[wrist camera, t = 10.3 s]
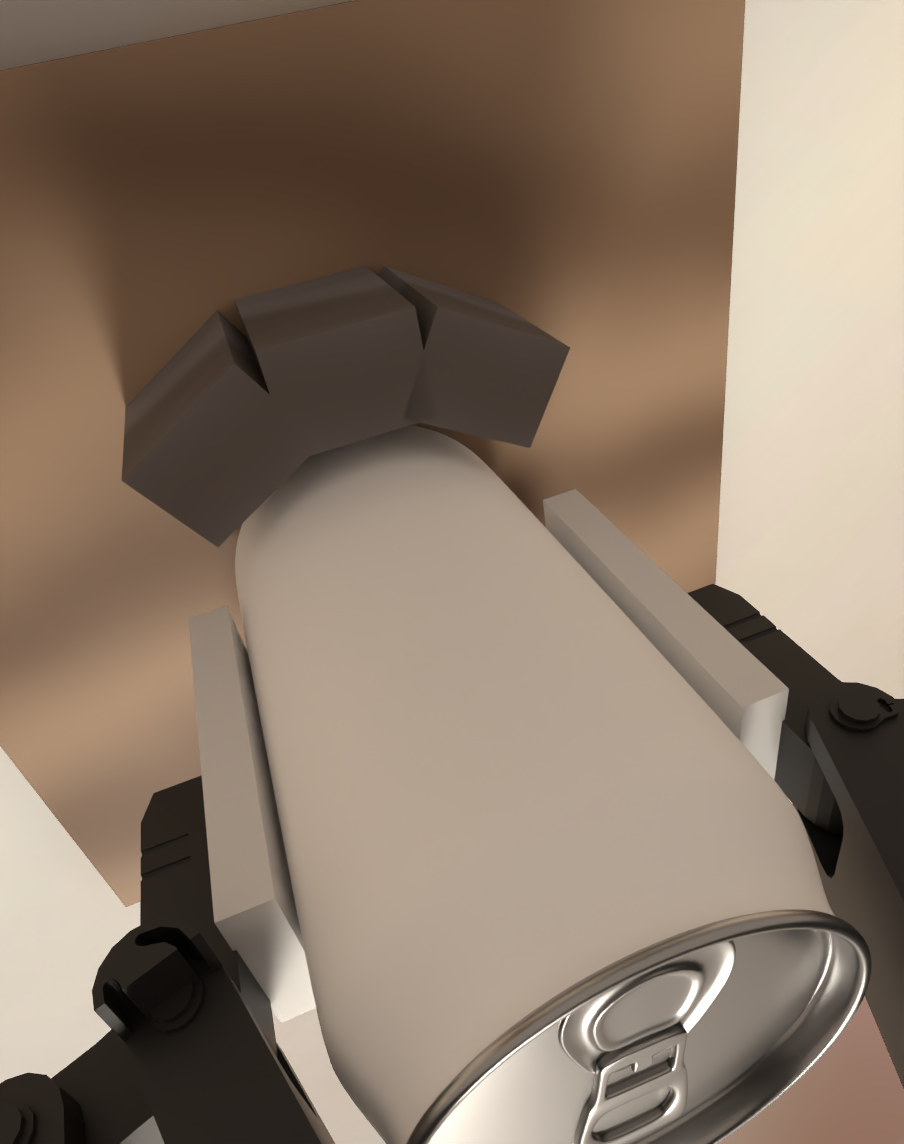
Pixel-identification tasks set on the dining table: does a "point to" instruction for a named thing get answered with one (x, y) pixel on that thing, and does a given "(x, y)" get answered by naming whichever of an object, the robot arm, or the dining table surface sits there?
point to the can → (519, 826)
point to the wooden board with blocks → (336, 320)
